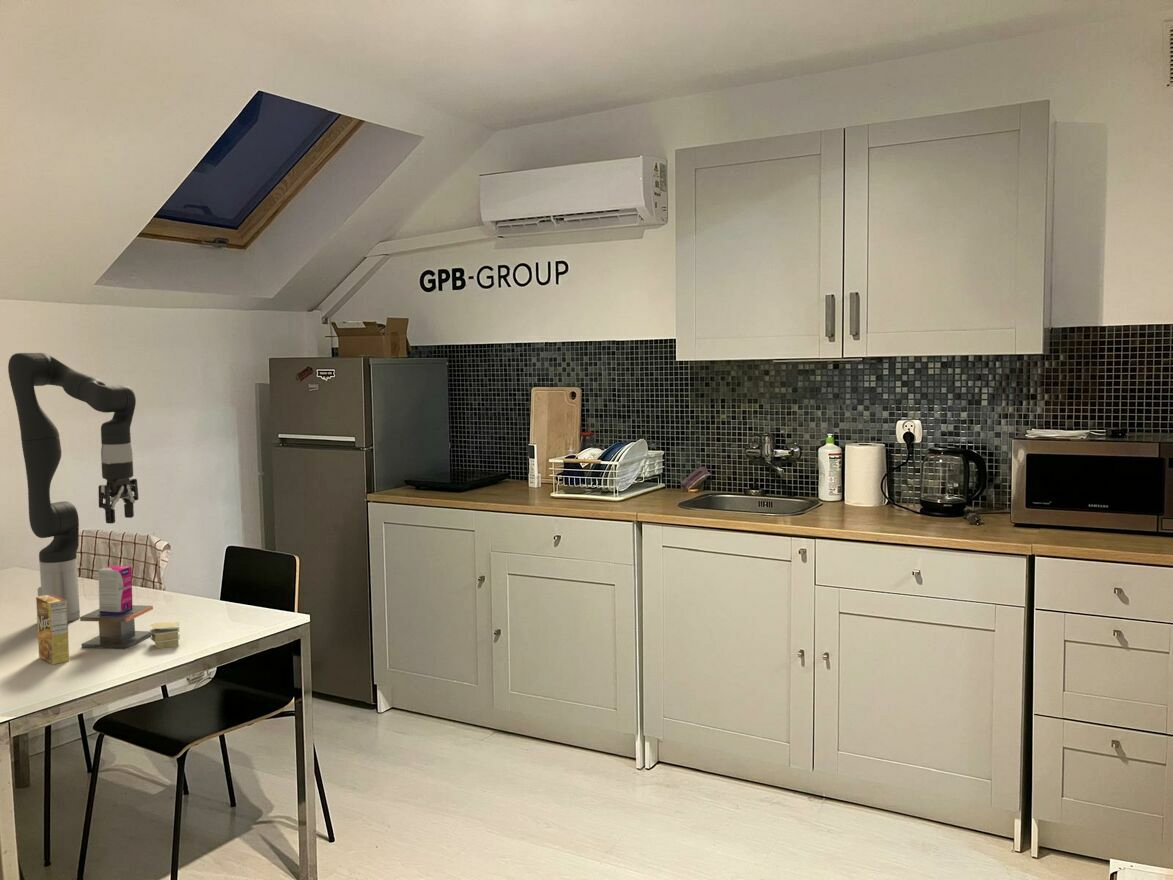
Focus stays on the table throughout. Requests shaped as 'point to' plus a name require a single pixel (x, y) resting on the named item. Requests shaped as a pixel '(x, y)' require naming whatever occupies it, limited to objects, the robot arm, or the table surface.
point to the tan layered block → (165, 634)
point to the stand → (117, 628)
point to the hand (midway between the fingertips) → (120, 520)
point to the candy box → (52, 629)
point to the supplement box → (115, 589)
